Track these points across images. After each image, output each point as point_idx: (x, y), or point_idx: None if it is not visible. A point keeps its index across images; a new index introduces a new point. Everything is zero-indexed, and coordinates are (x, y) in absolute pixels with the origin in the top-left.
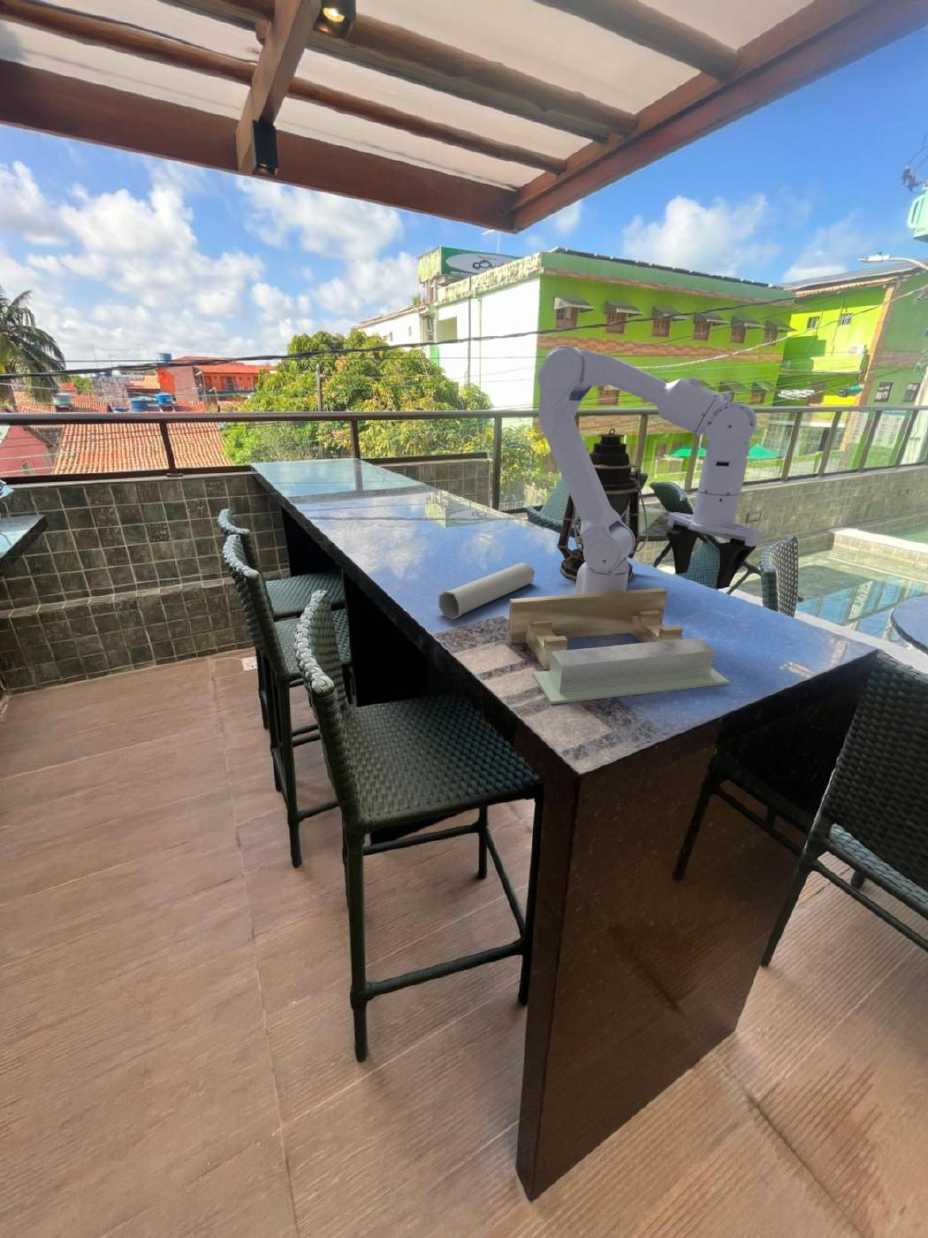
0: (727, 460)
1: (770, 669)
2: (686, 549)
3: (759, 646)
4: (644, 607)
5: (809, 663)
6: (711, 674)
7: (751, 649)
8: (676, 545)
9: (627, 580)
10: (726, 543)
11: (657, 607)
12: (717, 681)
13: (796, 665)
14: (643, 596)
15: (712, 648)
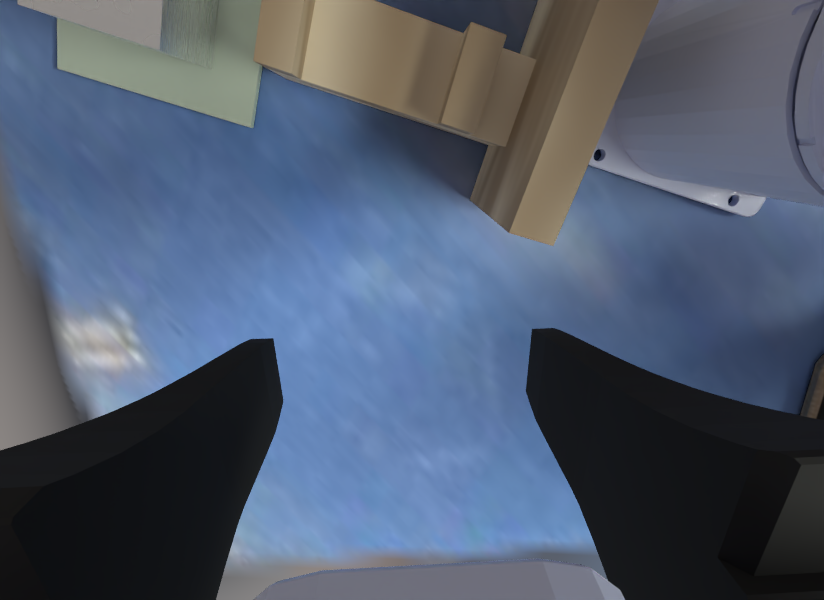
0: None
1: (120, 278)
2: (600, 469)
3: None
4: (528, 113)
5: (123, 397)
6: (115, 52)
7: (241, 338)
8: (669, 405)
9: (801, 413)
10: (2, 592)
11: (501, 181)
12: (64, 25)
13: (122, 360)
14: (555, 91)
15: (39, 8)
